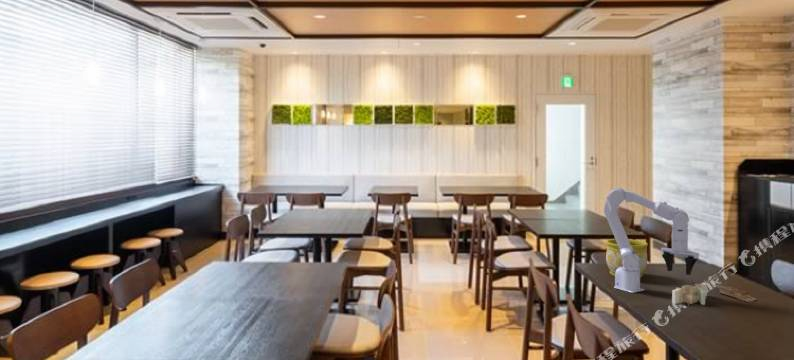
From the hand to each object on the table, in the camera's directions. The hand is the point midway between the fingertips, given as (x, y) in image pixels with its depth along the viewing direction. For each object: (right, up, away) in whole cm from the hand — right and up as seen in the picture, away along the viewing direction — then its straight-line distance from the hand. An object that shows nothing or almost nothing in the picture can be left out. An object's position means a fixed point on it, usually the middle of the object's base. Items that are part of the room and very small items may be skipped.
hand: (679, 272), depth 208 cm
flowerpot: (-7, -8, +32) cm, 33 cm away
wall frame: (0, -10, -6) cm, 12 cm away
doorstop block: (0, -10, -8) cm, 13 cm away
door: (+4, -10, -9) cm, 14 cm away
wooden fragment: (+24, -10, +3) cm, 26 cm away
